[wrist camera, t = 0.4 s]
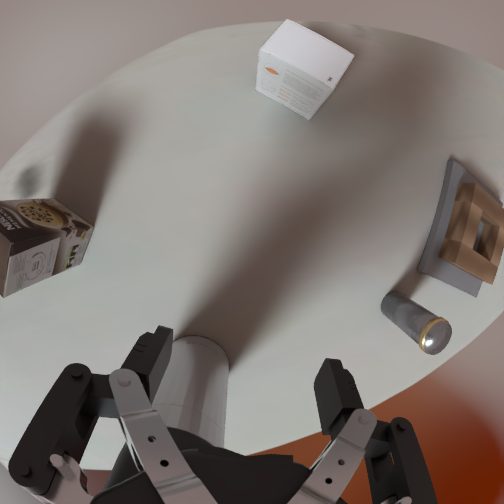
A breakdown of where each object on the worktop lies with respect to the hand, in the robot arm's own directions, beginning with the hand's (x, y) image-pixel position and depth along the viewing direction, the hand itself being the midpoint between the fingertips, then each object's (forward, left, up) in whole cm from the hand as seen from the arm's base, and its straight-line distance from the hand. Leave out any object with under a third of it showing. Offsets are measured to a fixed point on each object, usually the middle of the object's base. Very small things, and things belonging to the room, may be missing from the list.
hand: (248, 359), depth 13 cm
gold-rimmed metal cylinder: (+1, -22, -21) cm, 30 cm away
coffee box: (-4, +26, -21) cm, 34 cm away
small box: (+23, +2, -21) cm, 31 cm away
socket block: (+16, -32, -19) cm, 41 cm away
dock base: (+16, -32, -21) cm, 42 cm away
